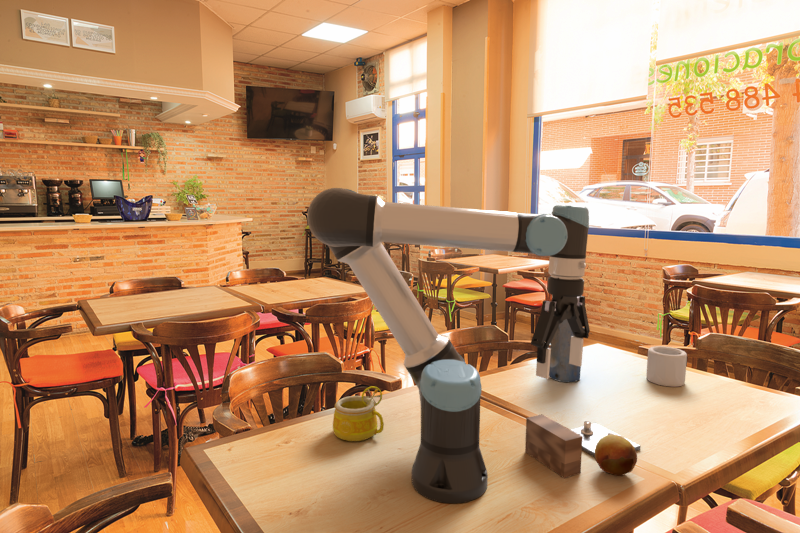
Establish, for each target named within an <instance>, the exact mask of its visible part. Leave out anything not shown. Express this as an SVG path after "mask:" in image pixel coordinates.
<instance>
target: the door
mask: <svg viewBox="0 0 800 533" xmlns="http://www.w3.org/2000/svg"><path fill="white" fill-rule="evenodd" d="M525 419H526V420H525V422H526V423H525V447H524V448H525V451H524V452H525V453H526V454H527V455H529V456H531V457H532V458H534V459H535V460H537V461H538V462H540V464H542V465H544V466H545V467H547V468H548V469H550V470H551V471H553V472H555V473H556V474H557V475H559V476H560V477H561V478H563V479H567V478H569V477H573V476H575V475H579V474H581V471H582V470H581V469H582V453H583V450H582V436H581V435H579V434H577V433H575V432H573V431H572V430H570V428H568V427H566V426H564V425H562V424H560V423H559V422H557V421H555V420H553V419H552V418H549V417H548V416H547V415H544V414H538V415H533V416H530V417H526V418H525Z"/></svg>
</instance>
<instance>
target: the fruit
mask: <svg viewBox="0 0 800 533" xmlns="http://www.w3.org/2000/svg"><path fill="white" fill-rule="evenodd" d="M619 435H620V434H619ZM619 435H607V436H604V437H603V438H601V439H600V440H599V441H598V443H597V445H596V448H595V457H594V458H595V461H596V463H597V465H598V466H599V469H601V471H603V472H605V473H608V474H611V475H614V476H617V477H621V476H622V477H623V476H624V475H626V474H629V473H631V472H632V471H633V470H634V468H635V466H636V464H637V462H638V455H637V451H635V448H634V446H633V445H632V444H631V443H630V442H629V441H628V440H627V439H628V438H627V439H625V438H626V437H625V438H623V437H624V436H623V437H622V435H621V436H619Z"/></svg>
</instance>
